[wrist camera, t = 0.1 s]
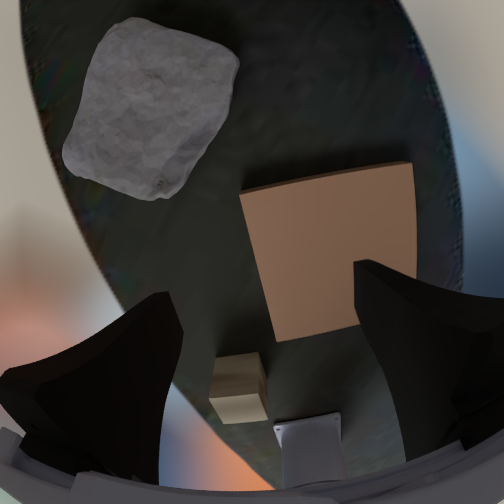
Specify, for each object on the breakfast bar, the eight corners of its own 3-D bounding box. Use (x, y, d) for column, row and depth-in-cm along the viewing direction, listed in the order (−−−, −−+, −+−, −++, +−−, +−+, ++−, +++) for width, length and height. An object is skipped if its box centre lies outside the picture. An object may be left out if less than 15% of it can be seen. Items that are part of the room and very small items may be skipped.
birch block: (267, 379, 26) (268, 419, 21) (228, 384, 26) (223, 424, 22) (258, 351, 24) (257, 393, 20) (215, 357, 25) (208, 398, 20)
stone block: (250, 60, 17) (127, 24, 14) (261, 47, 13) (107, 6, 10) (189, 200, 22) (77, 165, 19) (185, 224, 18) (49, 181, 14)
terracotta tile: (404, 296, 23) (414, 308, 21) (275, 327, 24) (276, 342, 22) (399, 160, 18) (411, 163, 16) (241, 189, 19) (239, 195, 18)
